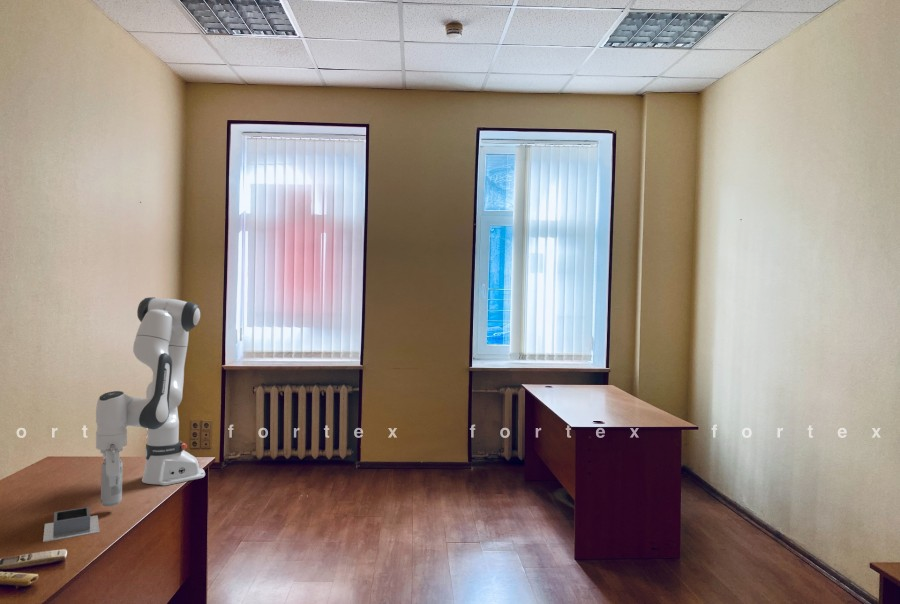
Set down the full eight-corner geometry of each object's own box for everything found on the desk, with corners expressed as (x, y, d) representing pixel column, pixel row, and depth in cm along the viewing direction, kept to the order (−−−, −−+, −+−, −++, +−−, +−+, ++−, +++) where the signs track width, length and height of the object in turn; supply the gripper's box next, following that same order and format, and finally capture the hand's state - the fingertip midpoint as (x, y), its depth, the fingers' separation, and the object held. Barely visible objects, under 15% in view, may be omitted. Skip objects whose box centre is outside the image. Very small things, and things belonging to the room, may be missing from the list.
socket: (97, 518, 185) (97, 503, 185) (99, 533, 173) (99, 517, 173) (44, 527, 177) (45, 511, 177) (43, 543, 165) (43, 526, 165)
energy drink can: (110, 499, 193) (112, 455, 192) (125, 501, 191) (127, 457, 191) (96, 505, 187) (97, 460, 187) (111, 507, 185) (112, 462, 185)
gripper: (124, 447, 182) (124, 490, 182) (120, 433, 199) (120, 472, 199) (101, 450, 178) (101, 494, 179) (99, 435, 195) (99, 475, 196)
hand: (111, 482), depth 189 cm, fingers closed on energy drink can, 6 cm apart
